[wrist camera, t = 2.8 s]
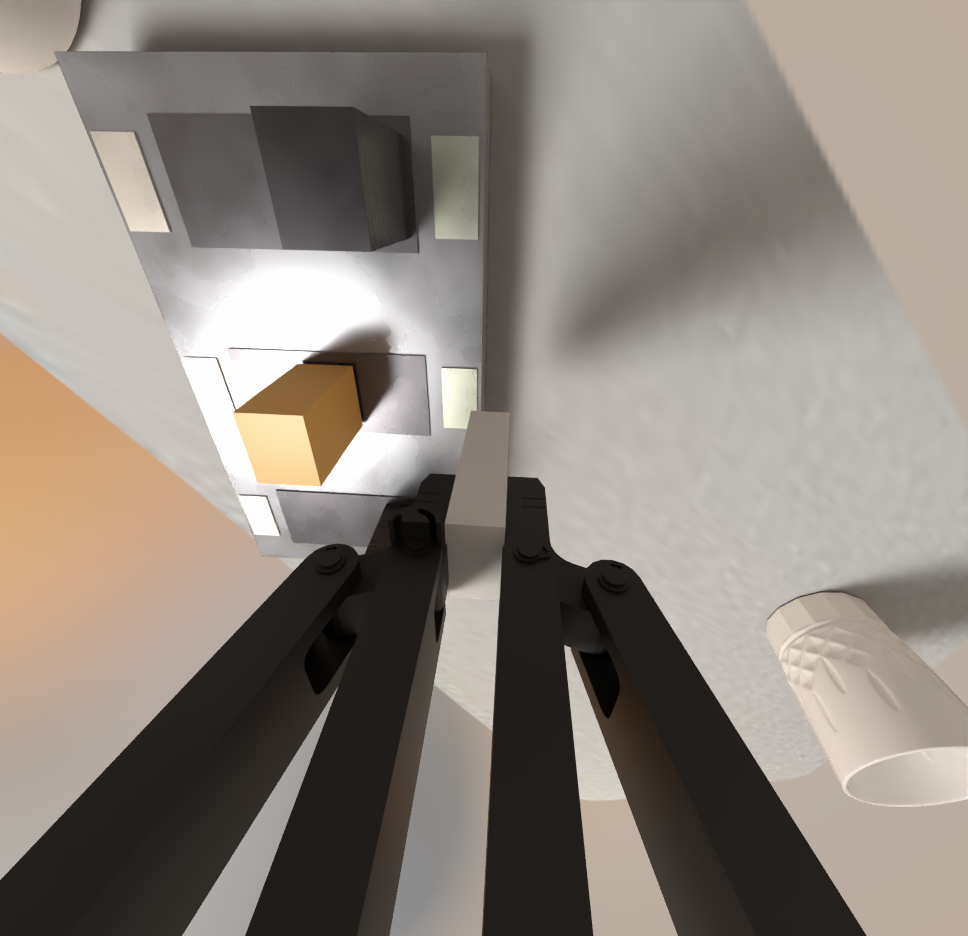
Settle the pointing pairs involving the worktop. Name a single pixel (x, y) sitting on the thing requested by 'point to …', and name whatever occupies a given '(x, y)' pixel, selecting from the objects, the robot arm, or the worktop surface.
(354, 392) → the toggle
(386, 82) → the panel
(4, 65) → the mug
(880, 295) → the worktop surface
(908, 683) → the white cup
